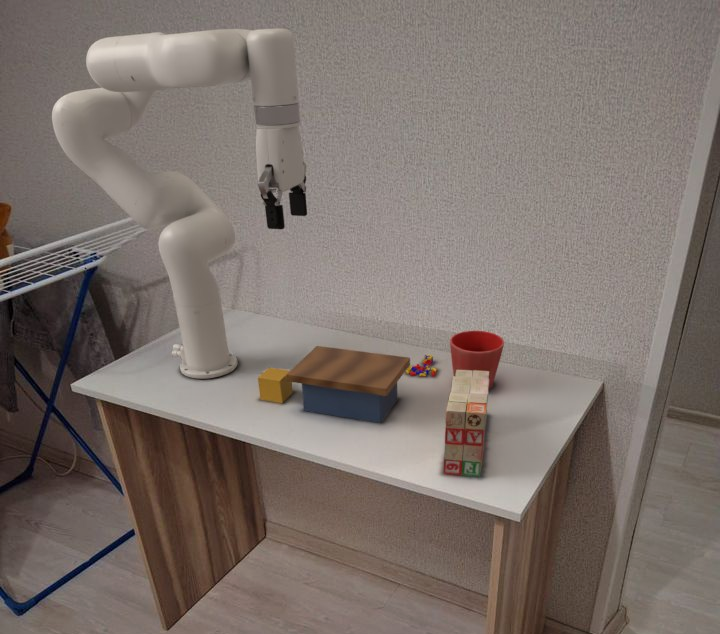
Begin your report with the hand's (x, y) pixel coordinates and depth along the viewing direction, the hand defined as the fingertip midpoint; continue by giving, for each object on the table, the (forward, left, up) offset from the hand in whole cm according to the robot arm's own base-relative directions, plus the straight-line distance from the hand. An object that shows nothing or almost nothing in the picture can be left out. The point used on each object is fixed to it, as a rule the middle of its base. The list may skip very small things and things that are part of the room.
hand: (288, 221), depth 124 cm
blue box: (+13, -5, -33) cm, 36 cm away
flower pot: (+34, +11, -33) cm, 49 cm away
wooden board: (+13, -6, -26) cm, 30 cm away
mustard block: (-3, -6, -33) cm, 34 cm away
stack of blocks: (+38, -12, -33) cm, 52 cm away
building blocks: (+22, +15, -33) cm, 42 cm away
